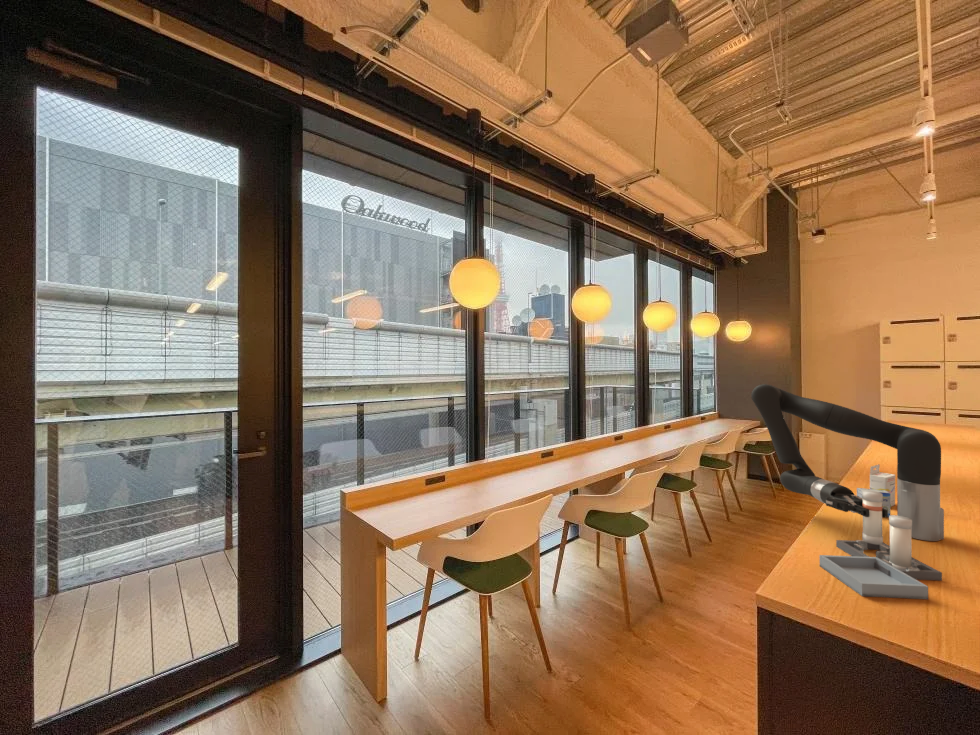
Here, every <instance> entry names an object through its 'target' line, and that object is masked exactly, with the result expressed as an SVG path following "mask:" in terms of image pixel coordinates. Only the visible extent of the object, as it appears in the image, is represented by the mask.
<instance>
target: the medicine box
mask: <svg viewBox="0 0 980 735" xmlns="http://www.w3.org/2000/svg"><path fill="white" fill-rule="evenodd" d="M863 490H870V491H876V492H880V493H882V494H883V502H882V508H884V509H886V510H887V511H888V517H887V518H889V516H890V515H891V507H890V493H889V492H887V491H885V490H876V489H870V488H863V487H856V496H859V497H861V498H862V491H863Z"/></svg>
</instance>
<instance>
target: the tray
mask: <svg viewBox="0 0 980 735" xmlns="http://www.w3.org/2000/svg"><path fill="white" fill-rule="evenodd" d="M874 562H876V563H878V564H879V565H881V566H883V567H885V568H886V569H888V570H890V576H888V575H886V574H885V573H883V572H881V571H879V570H878V569H876V568H874ZM819 567H820V568H822V569H823V570H825V571H826V572H828V573H829V574H830V575H832V576H833V577H834V578H836V579H837V580H839V581H840V582H842V583H843V584H844V585H845V586H847V587H848V588H850V589H851V590H853V591H854V592H855V593H857V594H859V596H861V597H870V598H871V597H872V598H875V597H876V598H892V599H912V600H913V599H915V600H929V586H928V585H926V584H924V583H923V582H921V581H920V580H918V579H914V578H912V577H910V576H909V575H907V574H905V573H903V572H902V571H900V570H898V569H896V568H895V567H893V566H891V565H889V564H888V563H886V562H884V561H882V560H880V559H879V558H877V557H876V556H869V557H859V556H851V555H834V554H833V555H827V554H819Z"/></svg>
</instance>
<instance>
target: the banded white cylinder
mask: <svg viewBox="0 0 980 735" xmlns="http://www.w3.org/2000/svg"><path fill="white" fill-rule="evenodd" d="M862 499H863V503H862V507H864V508H866V509H868V510H869V517H865V516H862V532H861V533H862V536H861V537H862V539H861V540H863V541H865V542H867V543H871V544H876V545H882V544H883V543H884V536H883V517H882V502H883V494H882V493H880V492H876V491H870V490H863V491H862Z"/></svg>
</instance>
